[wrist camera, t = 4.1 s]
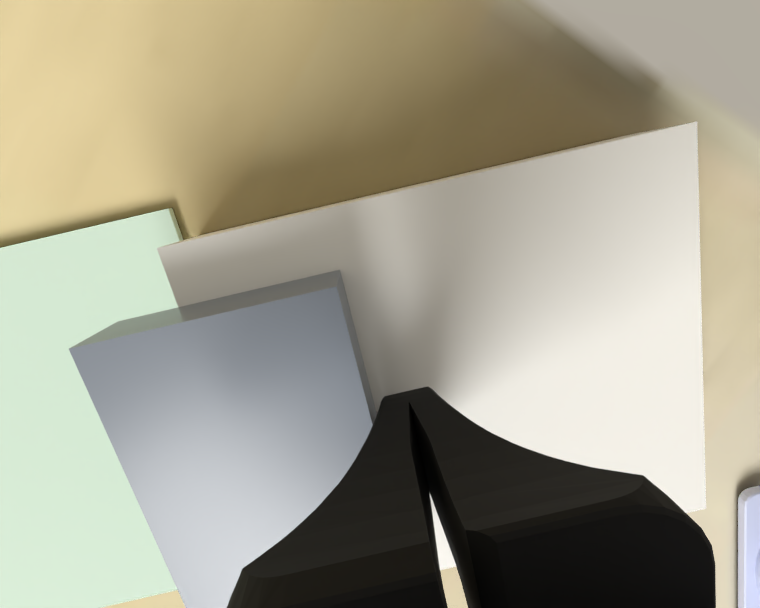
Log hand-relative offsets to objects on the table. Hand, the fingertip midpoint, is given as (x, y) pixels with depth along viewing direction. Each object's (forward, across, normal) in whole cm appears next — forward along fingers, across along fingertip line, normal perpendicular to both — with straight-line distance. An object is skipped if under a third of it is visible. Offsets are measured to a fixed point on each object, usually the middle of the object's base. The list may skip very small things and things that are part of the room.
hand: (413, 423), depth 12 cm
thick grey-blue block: (+1, +4, 0) cm, 4 cm away
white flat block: (+4, -2, 0) cm, 4 cm away
